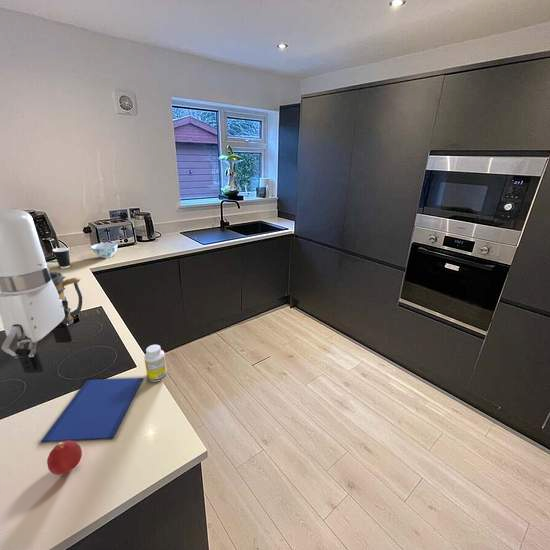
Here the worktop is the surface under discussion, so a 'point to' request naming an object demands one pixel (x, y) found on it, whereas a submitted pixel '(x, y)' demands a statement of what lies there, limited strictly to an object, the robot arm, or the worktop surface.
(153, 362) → the supplement bottle
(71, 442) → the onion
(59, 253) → the dixie cup
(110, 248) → the chinaware
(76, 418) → the cloth
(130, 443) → the worktop surface
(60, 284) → the mug
